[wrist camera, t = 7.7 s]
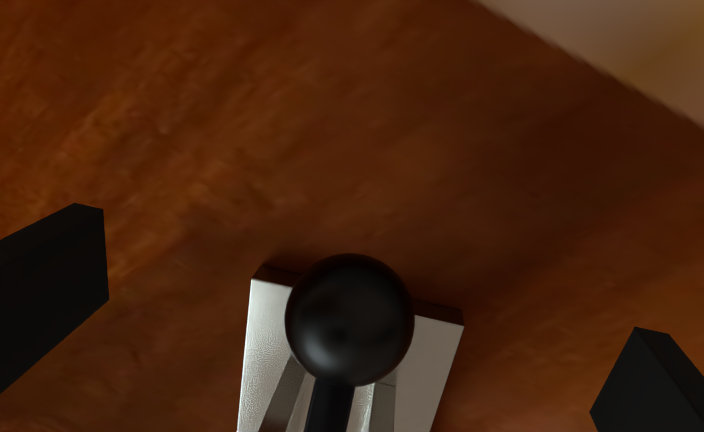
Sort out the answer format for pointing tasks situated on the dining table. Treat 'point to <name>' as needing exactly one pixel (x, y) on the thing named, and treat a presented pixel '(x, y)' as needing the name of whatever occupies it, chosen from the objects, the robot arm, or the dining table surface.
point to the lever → (346, 331)
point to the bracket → (369, 401)
